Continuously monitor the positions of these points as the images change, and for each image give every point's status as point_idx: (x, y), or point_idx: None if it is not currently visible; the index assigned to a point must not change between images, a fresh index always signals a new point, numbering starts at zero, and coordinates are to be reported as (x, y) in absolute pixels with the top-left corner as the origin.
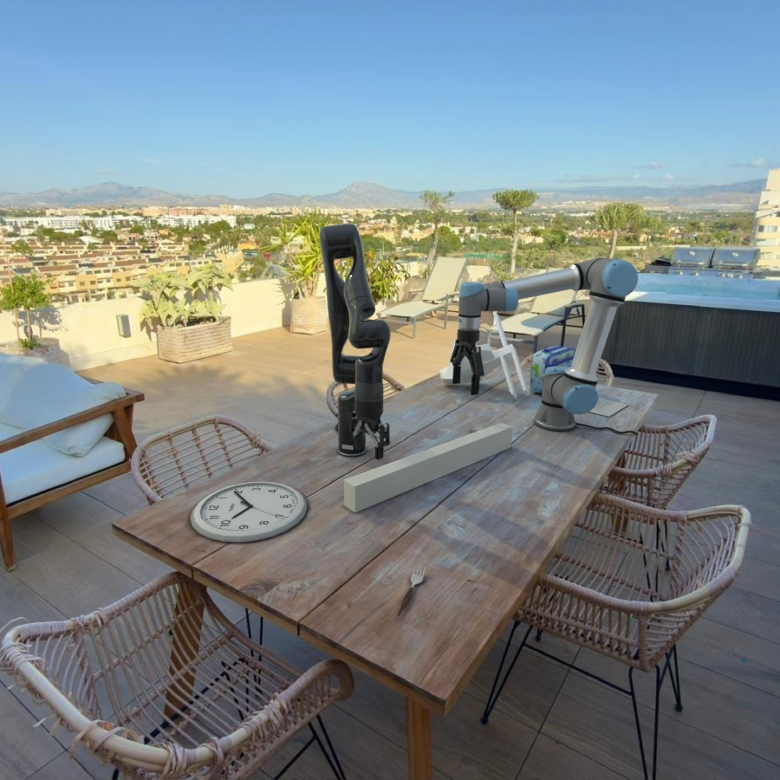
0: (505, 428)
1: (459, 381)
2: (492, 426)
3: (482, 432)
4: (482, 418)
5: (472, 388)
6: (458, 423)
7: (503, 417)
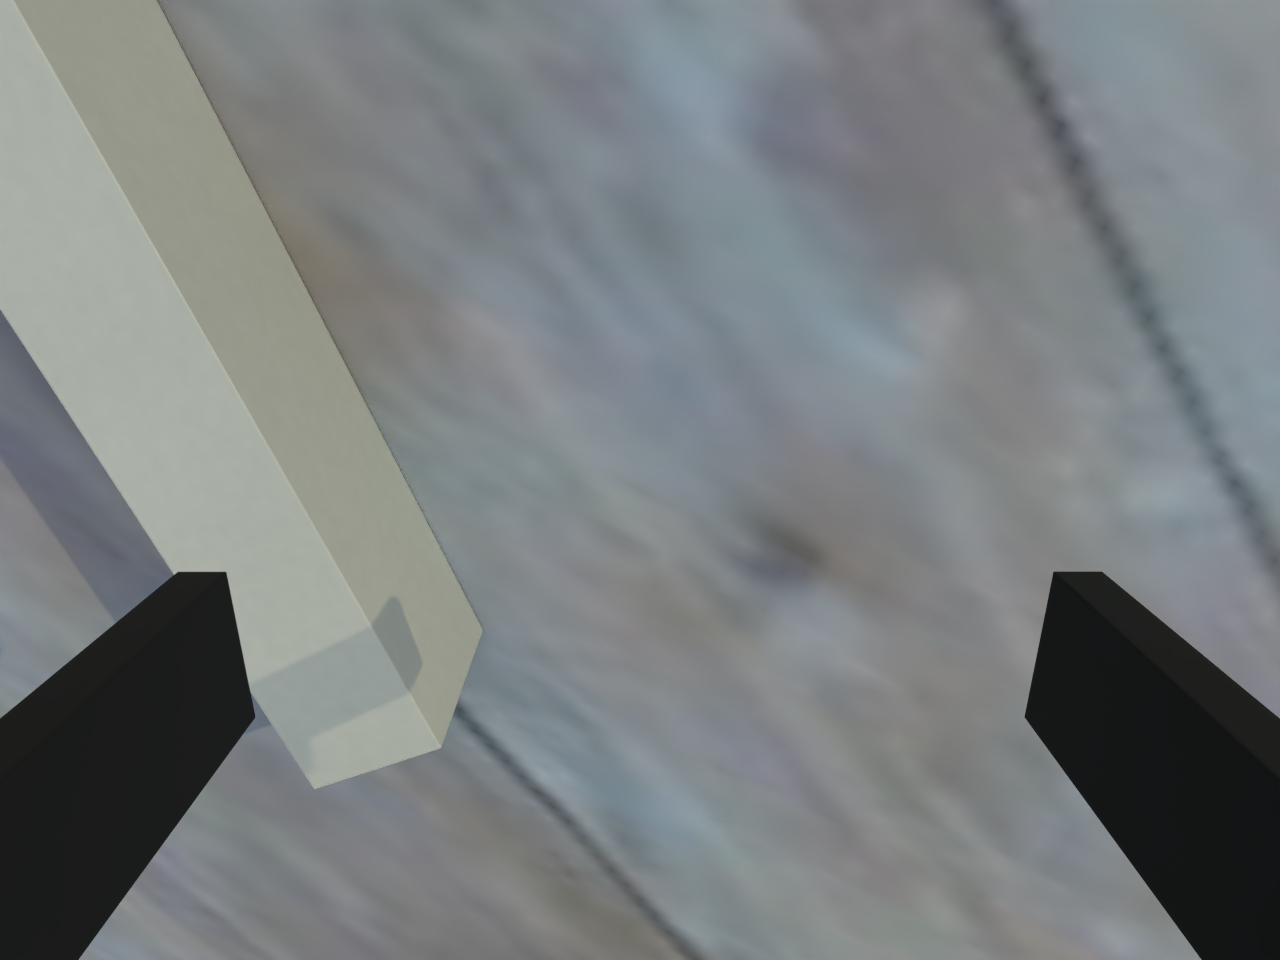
0: (281, 713)
1: (1051, 735)
2: (358, 628)
3: (204, 449)
4: (1010, 762)
5: (81, 668)
6: (1006, 531)
7: (951, 903)
